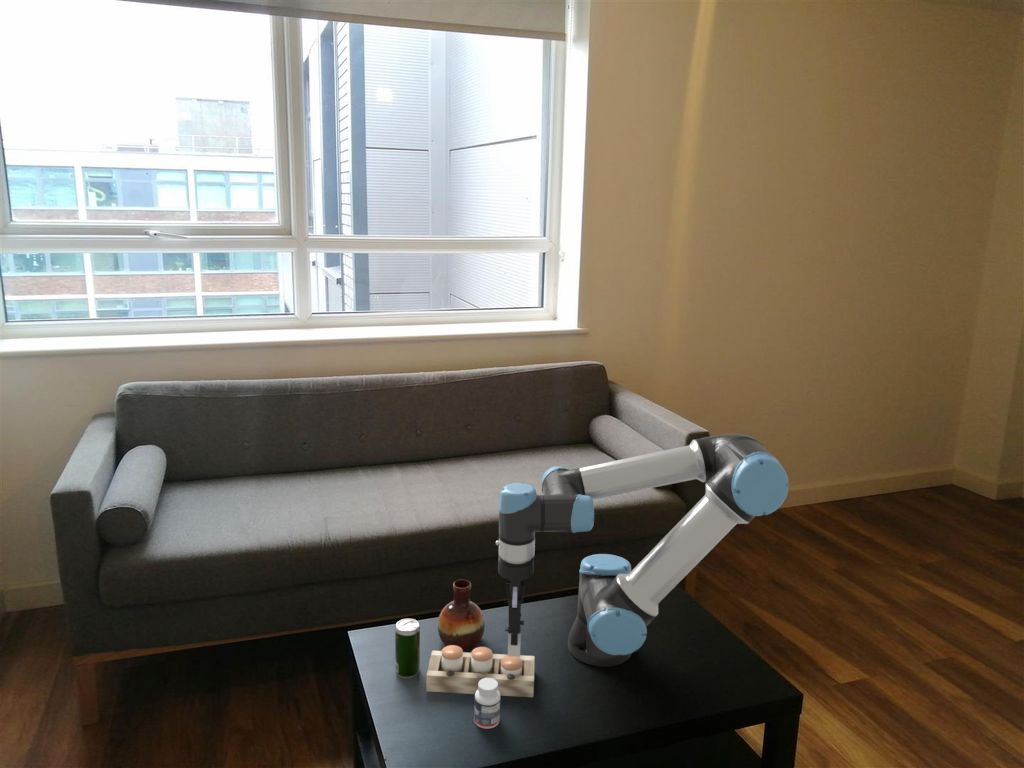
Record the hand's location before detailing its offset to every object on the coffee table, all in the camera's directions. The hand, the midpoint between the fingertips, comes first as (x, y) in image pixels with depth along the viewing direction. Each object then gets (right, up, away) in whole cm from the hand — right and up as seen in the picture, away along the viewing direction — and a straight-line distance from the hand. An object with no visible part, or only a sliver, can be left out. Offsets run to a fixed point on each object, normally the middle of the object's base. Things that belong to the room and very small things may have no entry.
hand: (513, 654), depth 173 cm
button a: (-1, -6, +2) cm, 6 cm away
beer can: (-24, -6, +4) cm, 25 cm away
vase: (-13, -3, +16) cm, 21 cm away
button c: (-14, -4, +2) cm, 14 cm away
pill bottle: (-6, -10, -10) cm, 16 cm away
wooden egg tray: (-7, -7, +2) cm, 10 cm away
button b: (-7, -4, +1) cm, 8 cm away
